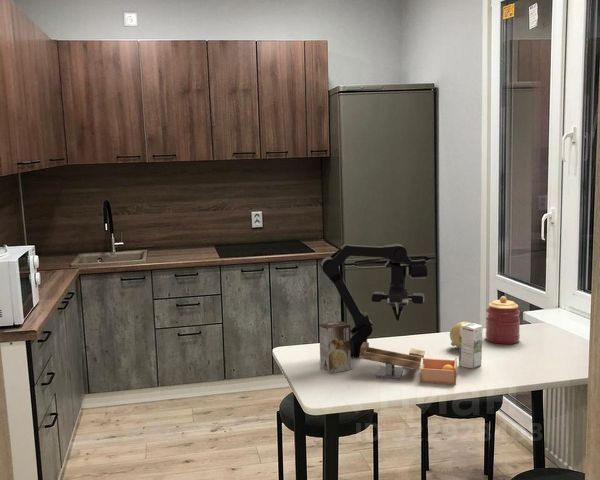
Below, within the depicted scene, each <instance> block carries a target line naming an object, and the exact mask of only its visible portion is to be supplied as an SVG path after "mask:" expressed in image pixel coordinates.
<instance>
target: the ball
mask: <svg viewBox="0 0 600 480" xmlns="http://www.w3.org/2000/svg"><path fill="white" fill-rule="evenodd" d="M442 370H454V368H453V366H451V365H445V366H443V368H442Z"/></svg>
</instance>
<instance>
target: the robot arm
mask: <svg viewBox="0 0 600 480" xmlns="http://www.w3.org/2000/svg"><path fill="white" fill-rule="evenodd" d="M349 257H366V258H367V257H368V258H369V257H370V258H372V257H373V258H383V259H386V260H387V262H385V264H384V266H385V268H389V277H390V278H389V288H388V294H387V293H385V292H384V291H374V292H373V293H372V294H371V302H372V303H381V302H382V300H387V303H386V304H387V305H388V306H389V305H390V308H391V309H392V311H393V314H394V317H395V321H400V319H401V315H402V313H403V309H404V307H405V306H408V305H409V301H411V302H412V303H413V304H416V305H420V304H421V305H423V304H424V302H425V294H424V293H422V292H413V293H412V295H411V294H410V295H409V289H408V288H407V276H409V278H410V279H427V278H428V267H427V262H426V260H425V259H414V260H413V259H411V258H410V257H409V256H408V251H407V249H406V248H405V247H404V246H403V245H402V244H400V243H392V244H391V243H390V244H386V245H381V246H380V245H379V246H378V245H361V244H349V243H345V244H343V245H342V246H341V247H340V248H339V249H337V250H336V251H335V252H334V253H332V254H331V255H330V256H325V258H323V259H322V261H321V268H322V272H323V273H324V274H325V275H326V276H327V277H328V279H329V280H330V281H331V283H333V285H334V286H335V288H336V290H337V292H338V293H339V295H340V298H341V299H342V301H343V303H344V305H345V307H346V308H347V311H348V312H349V314H350V315H351V318H352V322H353V324H354V325H353V327H352V328H350V334H351V358H357V359H360V358H359V356H360V348H361V345H362V344H363V342H367V343H368V346H367V347H370V343H369V342H368V338H369V337H370V336H371V335H372V333H373V325H374V324H373V321H372V320H371V319H370V318H369V315H368V313H367V311H364V312H362V311H361V310H360V308H359V305H357V302H356V301H355V299H354V298H353V295H352V293H351V292H350V290H349V288H348V287H347V284H346V282H345V281H344V278H343V277H342V274H341V269H340V266H342V264H343V263H344V262H345V261H346V260H347V259H348V258H349ZM400 262H403V263H400Z"/></svg>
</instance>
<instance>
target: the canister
mask: <svg viewBox="0 0 600 480" xmlns="http://www.w3.org/2000/svg"><path fill="white" fill-rule="evenodd" d="M518 308H519V305H518V304H517V303H516V302H515V301H512V300H509V299H507V297H506V296H504V295H502V296H501V297H500V298H499V299H495V300H492V301H490V302H489V303H488V308H486V309H485V312H486V317H485V321H486V322H485V339H486V340H487V341H488V342H491V343H494V344H499V345H500V344H501V345H511V344H516V343H519V341H520V338H521V337H520V336H521V334H520V324H521V323H520V322H521V318H520V314H521V310H520V309H518Z"/></svg>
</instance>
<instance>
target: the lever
mask: <svg viewBox="0 0 600 480" xmlns="http://www.w3.org/2000/svg"><path fill="white" fill-rule="evenodd" d="M368 343H369V342H368V341H367V342H363V344H362V345H361V348H360V356H359V358H358V359H361V360H367V361H371V362H377V363H380V364H381V363H382V364H385V363H392V365H395V367H404V368H408V369H412V370H417V371H419V370H420V367H421V362H422V359H423V358H425V353H426V351H425V350H420V349H415V348H410V350H409V354H406V353H401V352H397V351H391V350H387V349H381V348H375V347H370V346H369V347H367V346H368Z"/></svg>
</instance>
